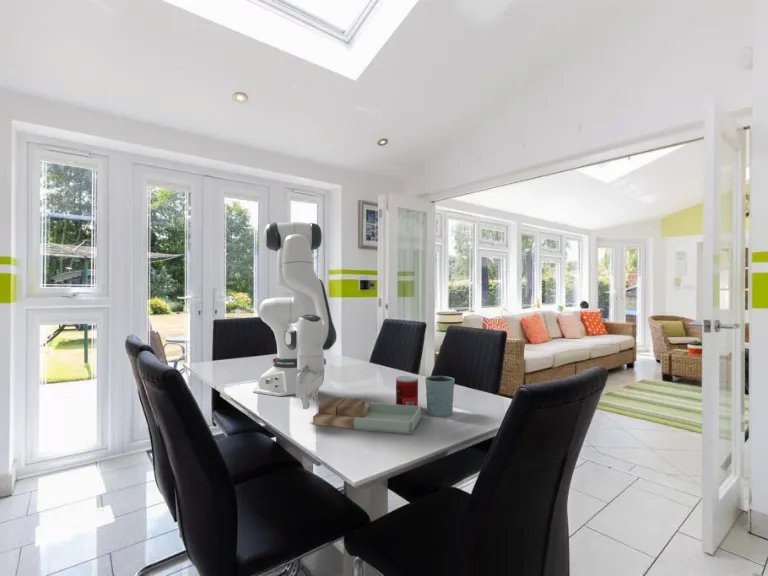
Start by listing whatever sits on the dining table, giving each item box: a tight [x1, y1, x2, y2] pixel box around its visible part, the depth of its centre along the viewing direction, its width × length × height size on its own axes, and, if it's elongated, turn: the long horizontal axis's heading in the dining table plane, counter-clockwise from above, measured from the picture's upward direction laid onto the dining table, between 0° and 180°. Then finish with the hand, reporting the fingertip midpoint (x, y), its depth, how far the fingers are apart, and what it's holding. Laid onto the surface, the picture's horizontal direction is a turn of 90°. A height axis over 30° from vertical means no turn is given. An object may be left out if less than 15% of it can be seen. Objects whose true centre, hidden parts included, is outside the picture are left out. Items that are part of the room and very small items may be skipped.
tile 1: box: [317, 396, 348, 415], centre depth 139 cm, size 6×10×3 cm, turn 165°
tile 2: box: [337, 397, 366, 417], centre depth 138 cm, size 6×10×3 cm, turn 165°
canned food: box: [395, 375, 419, 406], centre depth 150 cm, size 8×8×11 cm
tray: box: [353, 402, 423, 436], centre depth 134 cm, size 18×18×4 cm
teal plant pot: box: [424, 375, 456, 418], centre depth 145 cm, size 10×10×12 cm
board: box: [312, 405, 370, 429], centre depth 138 cm, size 14×16×2 cm
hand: (310, 404), depth 141 cm, fingers open, 8 cm apart
